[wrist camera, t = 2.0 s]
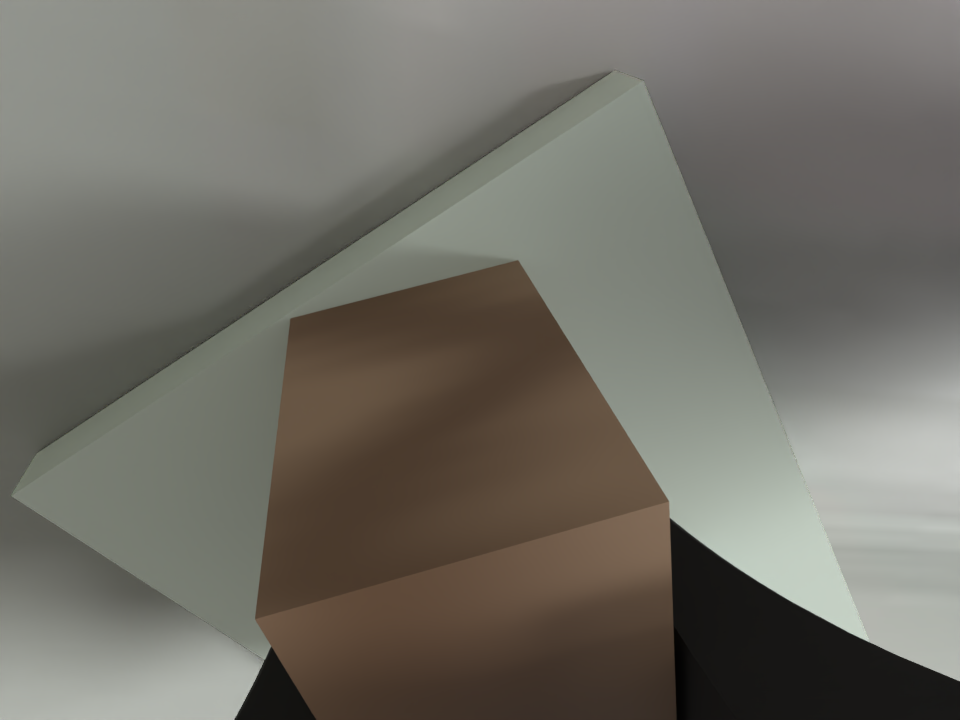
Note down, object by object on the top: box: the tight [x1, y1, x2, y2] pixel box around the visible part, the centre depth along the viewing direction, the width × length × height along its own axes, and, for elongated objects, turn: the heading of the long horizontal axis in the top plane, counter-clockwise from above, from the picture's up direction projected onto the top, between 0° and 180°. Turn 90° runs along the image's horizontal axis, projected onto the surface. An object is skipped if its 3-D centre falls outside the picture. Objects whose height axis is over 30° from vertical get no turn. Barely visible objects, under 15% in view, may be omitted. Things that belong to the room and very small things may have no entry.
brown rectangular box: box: [255, 260, 677, 720], centre depth 11 cm, size 4×9×6 cm, turn 11°
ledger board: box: [11, 70, 870, 660], centre depth 18 cm, size 13×27×3 cm, turn 31°
